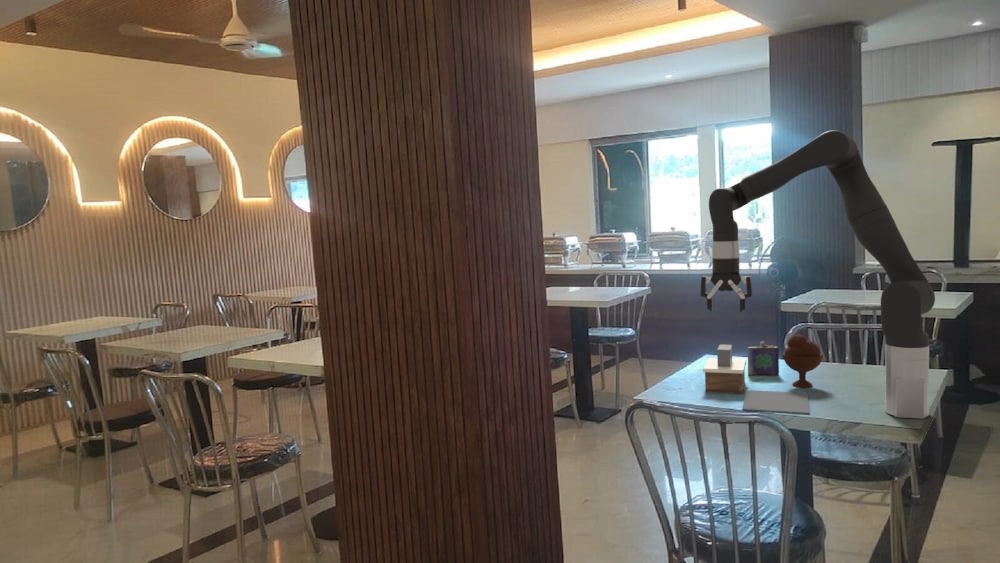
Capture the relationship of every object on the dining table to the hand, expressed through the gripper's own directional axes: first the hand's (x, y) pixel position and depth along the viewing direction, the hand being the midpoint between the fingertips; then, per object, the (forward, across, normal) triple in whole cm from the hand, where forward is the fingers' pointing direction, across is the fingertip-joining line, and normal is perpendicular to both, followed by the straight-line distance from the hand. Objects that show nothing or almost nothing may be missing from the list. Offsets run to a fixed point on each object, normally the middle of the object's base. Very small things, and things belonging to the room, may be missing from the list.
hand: (726, 311), depth 199 cm
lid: (+18, 0, -1) cm, 18 cm away
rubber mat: (+22, +14, -15) cm, 30 cm away
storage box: (+23, 0, -1) cm, 23 cm away
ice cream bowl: (+23, +20, +5) cm, 31 cm away
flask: (+23, +9, +17) cm, 30 cm away
